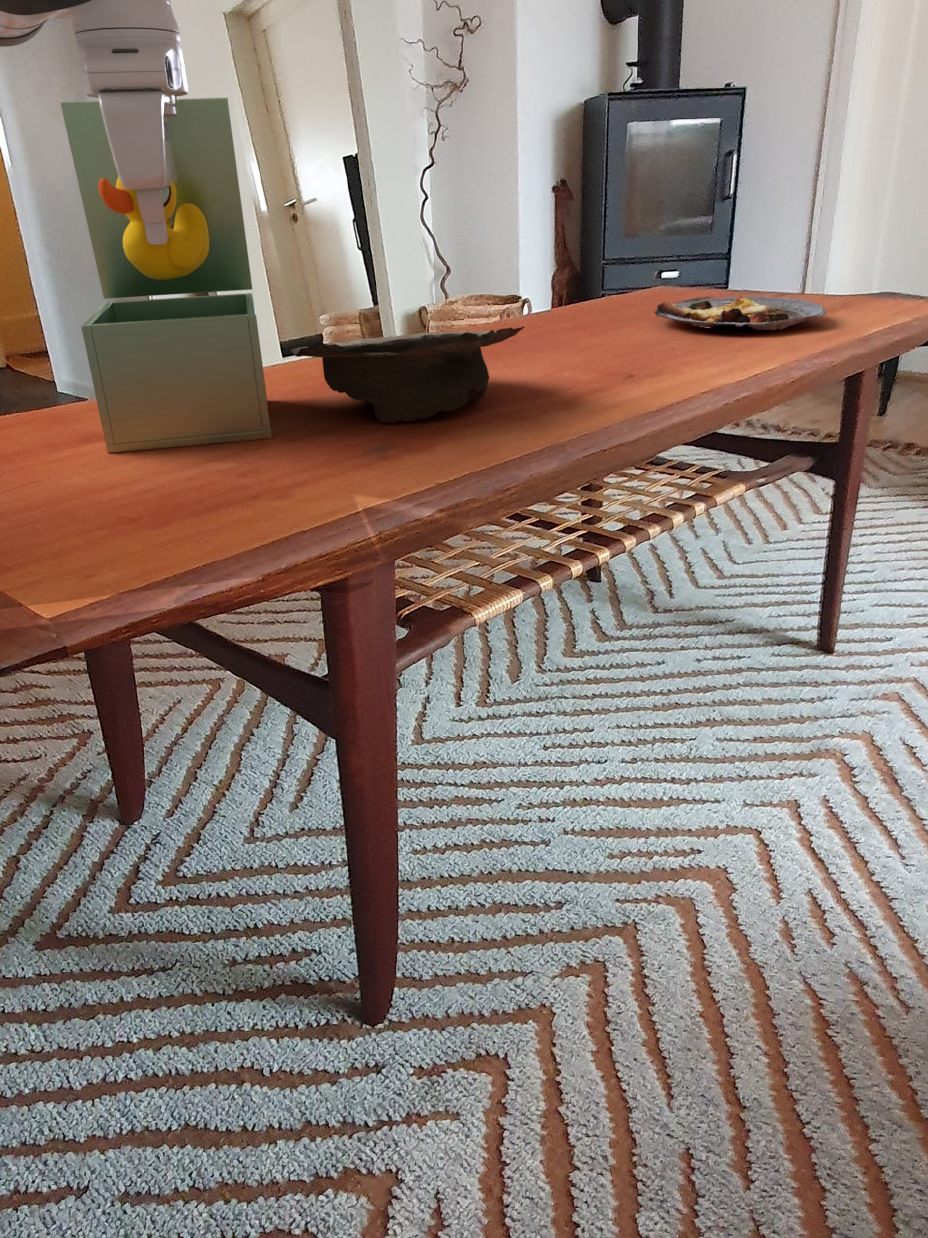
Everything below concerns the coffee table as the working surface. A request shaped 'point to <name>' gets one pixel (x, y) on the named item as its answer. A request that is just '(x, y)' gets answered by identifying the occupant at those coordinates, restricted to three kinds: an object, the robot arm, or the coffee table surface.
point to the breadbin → (177, 372)
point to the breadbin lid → (200, 182)
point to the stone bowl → (409, 371)
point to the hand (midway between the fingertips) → (162, 240)
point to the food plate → (741, 311)
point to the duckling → (183, 240)
